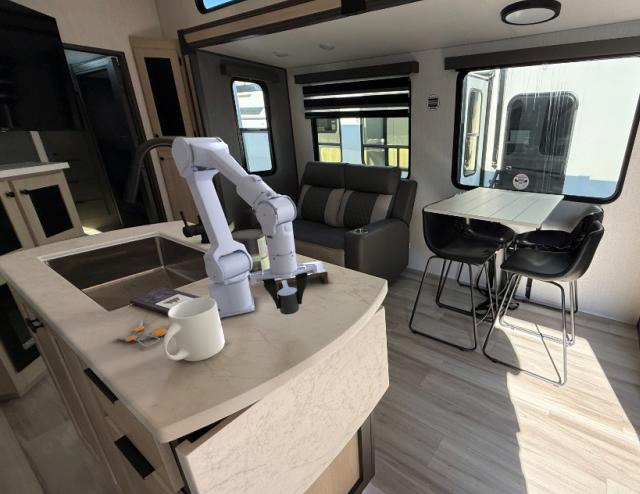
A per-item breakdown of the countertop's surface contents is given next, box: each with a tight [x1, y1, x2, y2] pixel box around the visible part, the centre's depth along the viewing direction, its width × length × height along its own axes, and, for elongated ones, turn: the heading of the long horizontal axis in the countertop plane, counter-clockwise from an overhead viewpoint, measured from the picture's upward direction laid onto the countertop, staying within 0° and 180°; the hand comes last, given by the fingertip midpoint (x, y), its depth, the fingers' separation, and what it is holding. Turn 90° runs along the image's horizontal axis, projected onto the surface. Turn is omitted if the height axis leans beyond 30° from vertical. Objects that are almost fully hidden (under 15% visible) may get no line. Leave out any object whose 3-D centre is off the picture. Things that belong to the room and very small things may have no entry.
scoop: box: [277, 280, 300, 316], centre depth 78 cm, size 9×4×5 cm, turn 25°
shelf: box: [275, 260, 329, 293], centre depth 102 cm, size 16×10×4 cm, turn 116°
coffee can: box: [231, 228, 270, 280], centre depth 107 cm, size 10×10×14 cm
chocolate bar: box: [129, 286, 203, 316], centre depth 89 cm, size 9×1×18 cm
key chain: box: [116, 320, 168, 348], centre depth 75 cm, size 13×7×1 cm, turn 66°
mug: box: [162, 297, 226, 362], centre depth 66 cm, size 9×12×11 cm
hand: (288, 304), depth 76 cm, fingers closed on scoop, 4 cm apart
